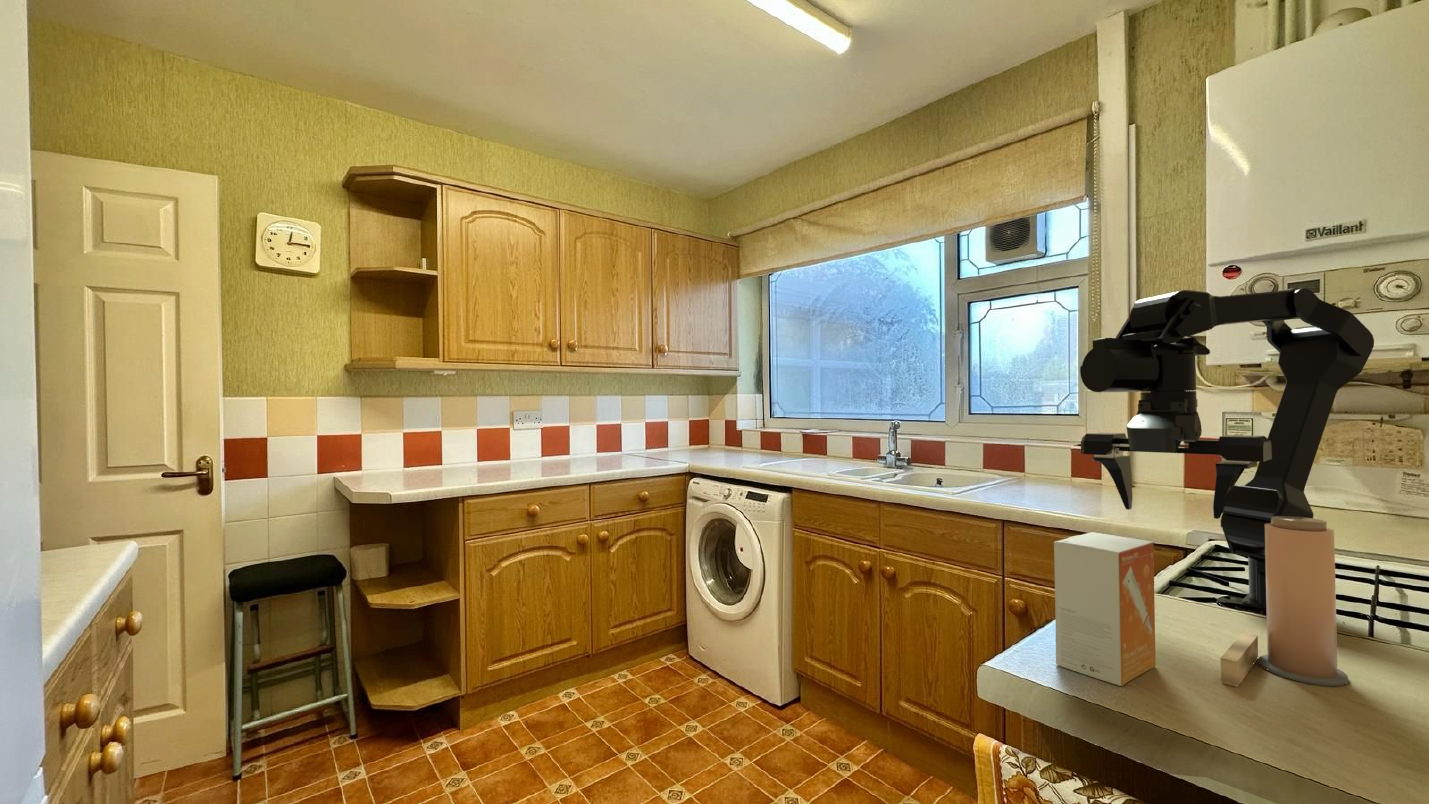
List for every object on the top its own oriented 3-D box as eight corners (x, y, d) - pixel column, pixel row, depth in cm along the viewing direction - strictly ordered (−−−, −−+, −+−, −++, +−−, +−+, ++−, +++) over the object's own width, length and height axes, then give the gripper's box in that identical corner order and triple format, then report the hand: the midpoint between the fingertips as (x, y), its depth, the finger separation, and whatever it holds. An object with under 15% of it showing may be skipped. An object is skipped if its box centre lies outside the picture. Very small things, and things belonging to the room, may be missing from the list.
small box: (1122, 688, 57) (1119, 552, 57) (1054, 665, 62) (1051, 540, 62) (1158, 667, 61) (1155, 540, 61) (1091, 647, 67) (1089, 530, 67)
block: (1243, 654, 64) (1242, 632, 64) (1258, 658, 63) (1257, 635, 63) (1221, 682, 58) (1220, 657, 58) (1237, 687, 57) (1236, 661, 57)
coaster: (1264, 653, 64) (1264, 649, 64) (1351, 672, 59) (1351, 668, 59) (1252, 670, 60) (1252, 666, 60) (1344, 692, 55) (1344, 688, 55)
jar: (1261, 653, 63) (1258, 513, 63) (1327, 663, 61) (1323, 517, 61) (1275, 671, 59) (1271, 521, 59) (1346, 682, 56) (1342, 526, 56)
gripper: (1063, 393, 78) (1065, 512, 78) (1251, 388, 64) (1255, 533, 64) (1094, 394, 85) (1097, 502, 85) (1270, 389, 71) (1274, 520, 71)
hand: (1170, 513), depth 76 cm, fingers open, 9 cm apart
